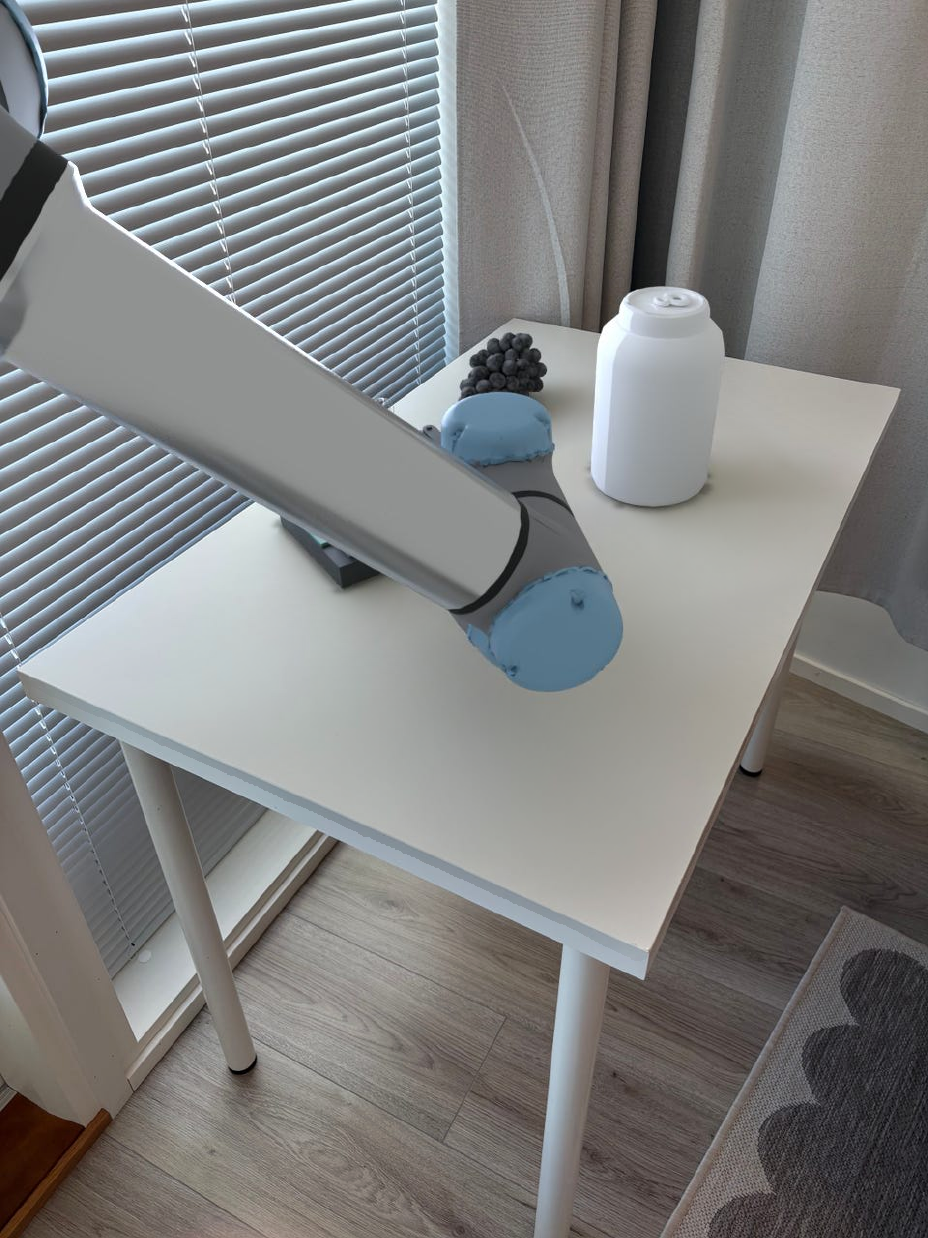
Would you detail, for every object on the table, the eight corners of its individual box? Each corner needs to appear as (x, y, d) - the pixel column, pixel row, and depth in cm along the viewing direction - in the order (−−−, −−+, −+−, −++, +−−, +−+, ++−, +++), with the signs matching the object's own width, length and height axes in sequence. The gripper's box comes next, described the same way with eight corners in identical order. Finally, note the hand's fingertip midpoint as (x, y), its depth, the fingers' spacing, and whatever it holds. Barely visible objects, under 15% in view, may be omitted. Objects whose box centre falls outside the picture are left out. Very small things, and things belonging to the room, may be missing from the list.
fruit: (467, 366, 107) (547, 319, 115) (417, 370, 112) (497, 326, 121) (488, 437, 110) (564, 388, 119) (439, 438, 116) (515, 391, 125)
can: (674, 442, 110) (695, 268, 97) (727, 497, 100) (757, 312, 88) (573, 461, 107) (580, 285, 95) (617, 519, 98) (632, 331, 85)
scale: (342, 589, 90) (338, 562, 88) (281, 523, 100) (276, 498, 98) (473, 536, 96) (472, 510, 94) (404, 479, 106) (402, 454, 104)
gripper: (348, 601, 78) (266, 475, 95) (539, 540, 84) (431, 431, 101) (337, 525, 74) (252, 407, 90) (540, 466, 79) (426, 364, 96)
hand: (346, 420), depth 95 cm, fingers closed on utensil holder, 5 cm apart
